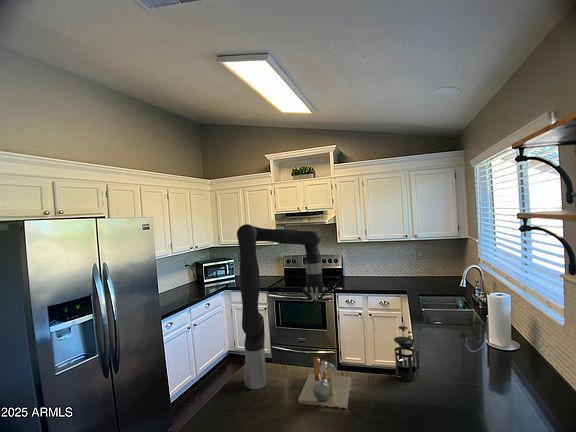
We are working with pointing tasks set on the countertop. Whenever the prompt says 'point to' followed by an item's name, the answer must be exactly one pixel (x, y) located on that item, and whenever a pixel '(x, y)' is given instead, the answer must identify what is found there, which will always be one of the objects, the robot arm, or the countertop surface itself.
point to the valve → (326, 389)
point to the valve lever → (319, 369)
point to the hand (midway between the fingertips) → (316, 308)
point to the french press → (406, 364)
